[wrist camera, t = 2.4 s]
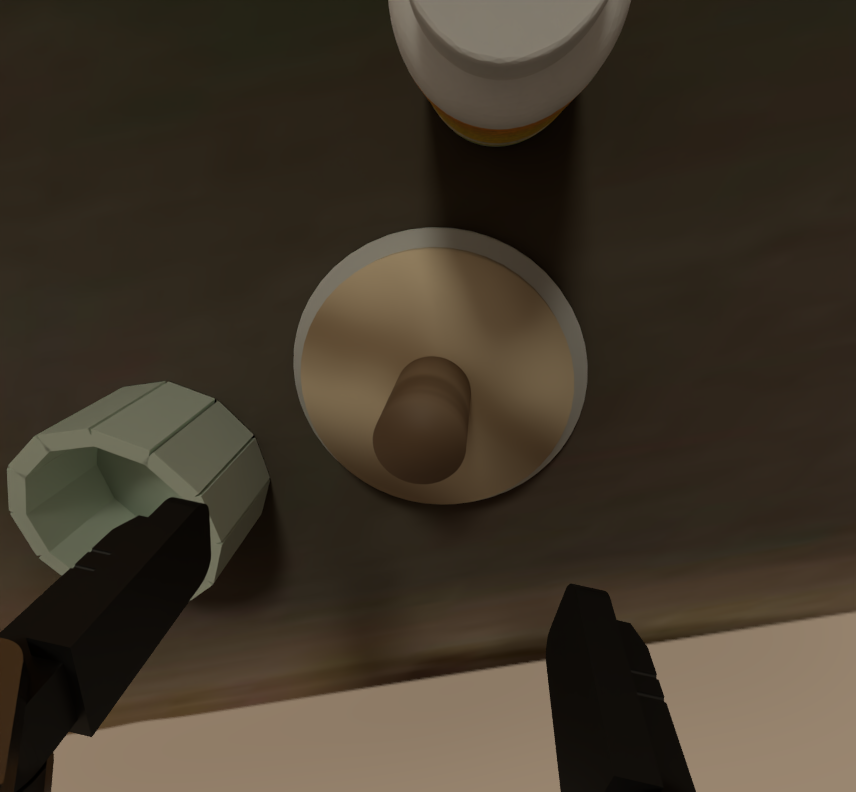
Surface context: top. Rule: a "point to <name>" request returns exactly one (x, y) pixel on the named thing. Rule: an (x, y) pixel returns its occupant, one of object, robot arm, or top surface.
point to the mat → (476, 245)
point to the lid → (437, 376)
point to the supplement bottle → (504, 59)
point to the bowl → (137, 472)
